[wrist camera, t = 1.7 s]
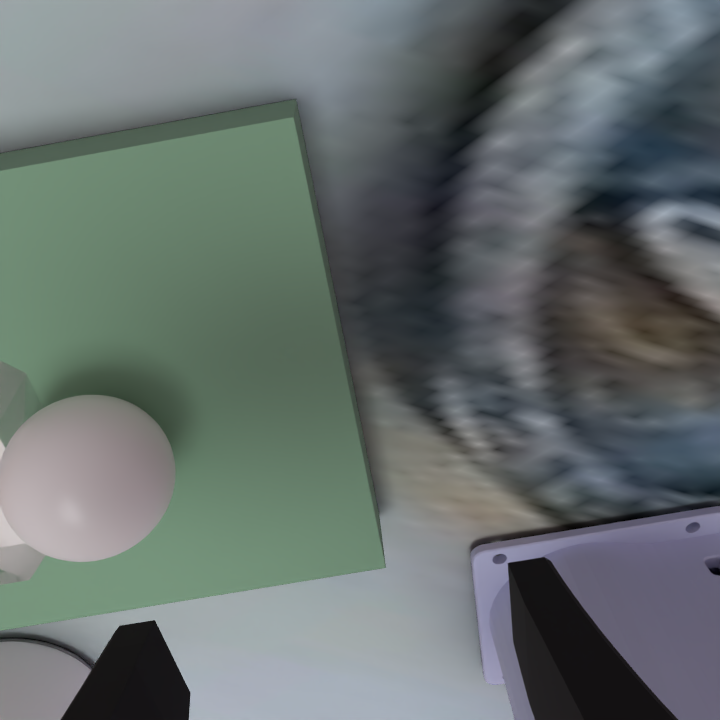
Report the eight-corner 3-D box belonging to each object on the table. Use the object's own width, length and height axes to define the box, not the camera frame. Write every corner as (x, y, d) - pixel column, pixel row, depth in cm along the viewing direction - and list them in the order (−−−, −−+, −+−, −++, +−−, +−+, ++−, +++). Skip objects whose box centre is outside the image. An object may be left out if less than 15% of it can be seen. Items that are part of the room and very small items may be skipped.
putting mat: (296, 98, 16) (293, 117, 14) (379, 515, 23) (385, 567, 21) (-403, 227, 17) (-505, 263, 15) (-114, 596, 24) (-155, 656, 22)
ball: (161, 352, 17) (121, 450, 13) (205, 472, 19) (181, 583, 15) (8, 379, 17) (-70, 482, 13) (68, 495, 19) (14, 611, 15)
